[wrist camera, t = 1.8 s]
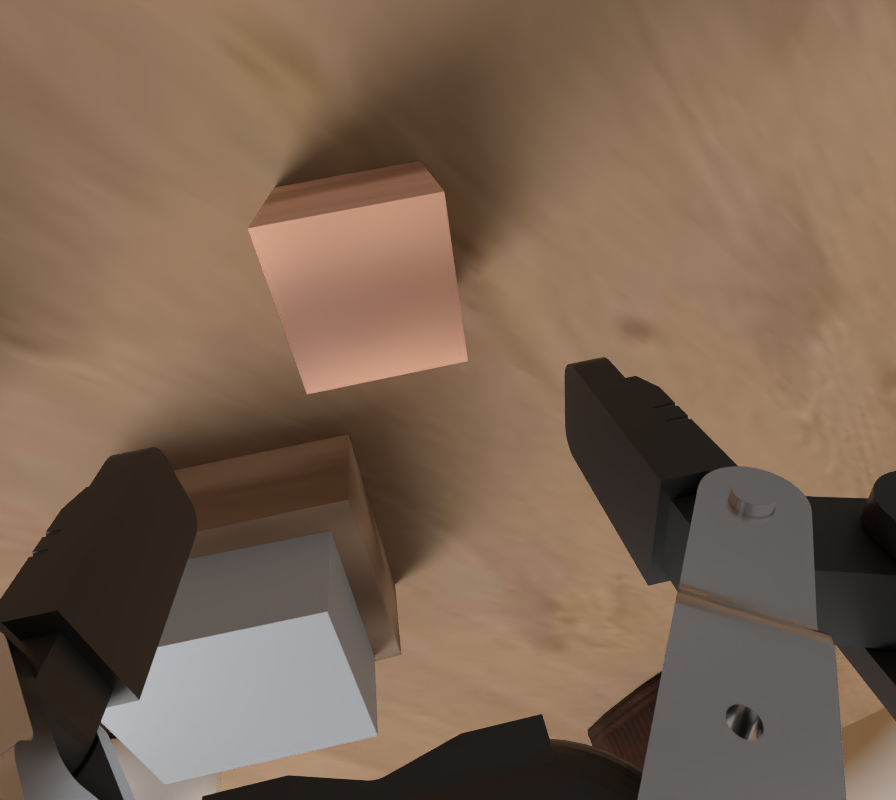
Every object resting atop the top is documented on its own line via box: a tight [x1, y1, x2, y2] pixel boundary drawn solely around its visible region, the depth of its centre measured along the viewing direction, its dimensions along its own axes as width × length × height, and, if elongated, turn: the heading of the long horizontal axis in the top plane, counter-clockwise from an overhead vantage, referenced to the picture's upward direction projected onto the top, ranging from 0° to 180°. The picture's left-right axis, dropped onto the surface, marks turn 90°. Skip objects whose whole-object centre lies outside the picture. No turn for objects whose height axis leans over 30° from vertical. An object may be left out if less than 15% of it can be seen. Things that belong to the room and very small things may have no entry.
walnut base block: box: [173, 434, 401, 661], centre depth 27 cm, size 12×12×5 cm
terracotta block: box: [248, 161, 468, 394], centre depth 18 cm, size 6×6×6 cm
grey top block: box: [101, 531, 378, 784], centre depth 23 cm, size 10×10×4 cm
